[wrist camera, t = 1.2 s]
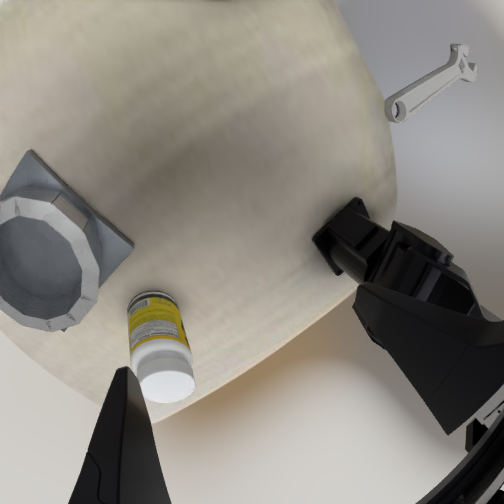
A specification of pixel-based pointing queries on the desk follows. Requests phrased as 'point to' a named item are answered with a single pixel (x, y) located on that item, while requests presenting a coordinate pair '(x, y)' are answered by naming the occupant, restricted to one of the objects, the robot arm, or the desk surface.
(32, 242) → the ring plate
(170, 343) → the supplement bottle
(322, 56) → the desk surface
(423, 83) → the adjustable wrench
